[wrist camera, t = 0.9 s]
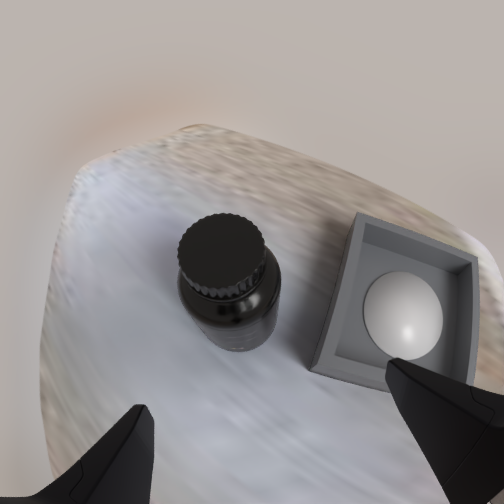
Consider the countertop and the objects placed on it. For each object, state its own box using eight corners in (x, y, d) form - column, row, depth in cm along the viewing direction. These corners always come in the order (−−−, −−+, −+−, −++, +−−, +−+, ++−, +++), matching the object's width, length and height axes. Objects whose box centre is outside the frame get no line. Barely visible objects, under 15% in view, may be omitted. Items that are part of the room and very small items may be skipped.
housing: (446, 403, 19) (470, 399, 15) (308, 371, 22) (317, 364, 19) (459, 274, 26) (477, 257, 23) (347, 235, 29) (357, 211, 26)
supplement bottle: (205, 282, 27) (173, 197, 17) (277, 284, 27) (285, 197, 16) (197, 351, 23) (147, 302, 13) (275, 355, 23) (287, 309, 13)
